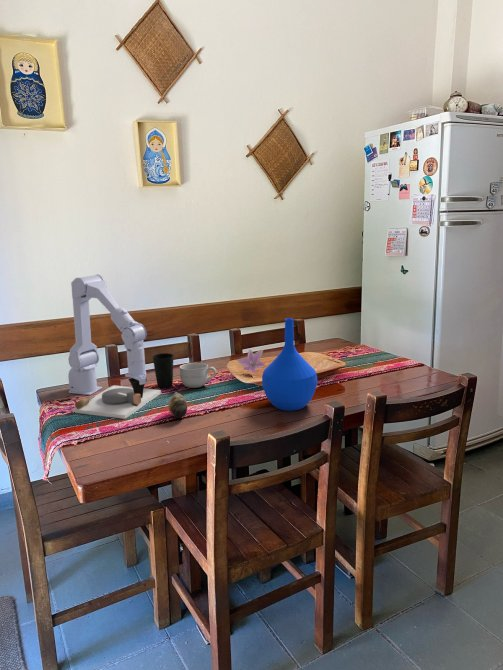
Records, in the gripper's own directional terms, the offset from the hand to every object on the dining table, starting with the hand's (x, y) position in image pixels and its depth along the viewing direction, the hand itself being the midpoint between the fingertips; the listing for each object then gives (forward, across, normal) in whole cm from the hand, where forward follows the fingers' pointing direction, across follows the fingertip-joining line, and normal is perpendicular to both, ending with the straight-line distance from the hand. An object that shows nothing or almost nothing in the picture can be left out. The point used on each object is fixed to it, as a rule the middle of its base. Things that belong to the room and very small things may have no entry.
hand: (139, 398), depth 178 cm
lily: (+3, -10, +48) cm, 49 cm away
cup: (+3, -13, +13) cm, 19 cm away
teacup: (+3, -8, +24) cm, 26 cm away
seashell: (+2, +17, +8) cm, 19 cm away
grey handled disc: (+1, -3, -5) cm, 6 cm away
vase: (+2, +26, +44) cm, 52 cm away
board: (+2, -5, -6) cm, 8 cm away
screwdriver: (+1, -6, -16) cm, 18 cm away
